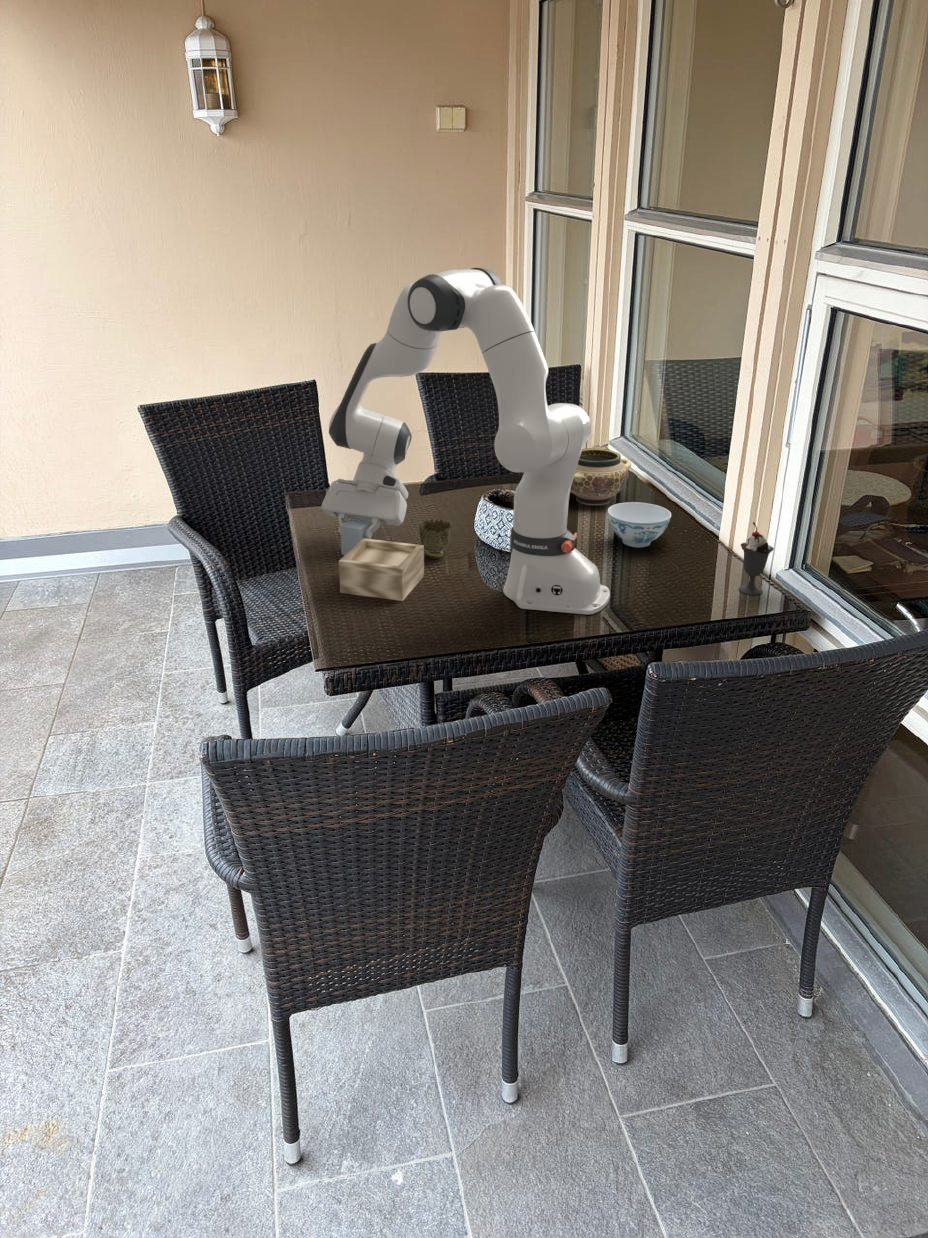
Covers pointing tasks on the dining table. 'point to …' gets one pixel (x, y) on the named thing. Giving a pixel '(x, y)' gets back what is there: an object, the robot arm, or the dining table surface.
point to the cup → (435, 537)
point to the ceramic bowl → (599, 476)
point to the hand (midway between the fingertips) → (354, 535)
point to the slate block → (352, 534)
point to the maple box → (381, 569)
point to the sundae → (754, 560)
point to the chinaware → (638, 522)
